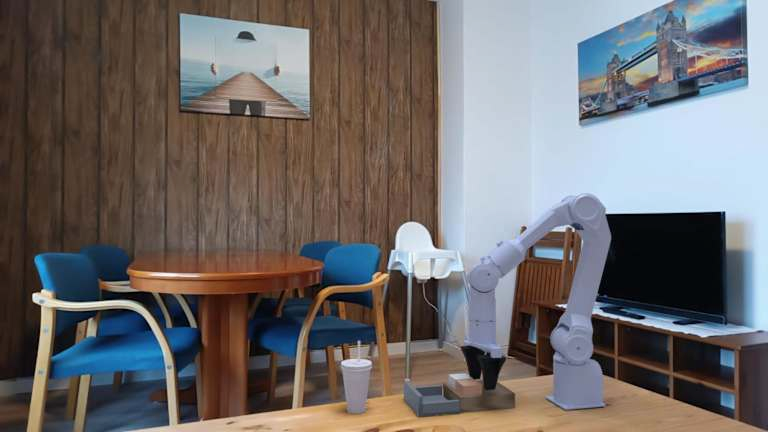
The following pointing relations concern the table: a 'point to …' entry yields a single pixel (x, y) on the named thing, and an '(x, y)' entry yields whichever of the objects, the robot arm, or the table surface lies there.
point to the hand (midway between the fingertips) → (482, 384)
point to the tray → (429, 400)
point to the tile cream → (457, 378)
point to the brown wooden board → (482, 398)
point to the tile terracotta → (468, 387)
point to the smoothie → (356, 382)
